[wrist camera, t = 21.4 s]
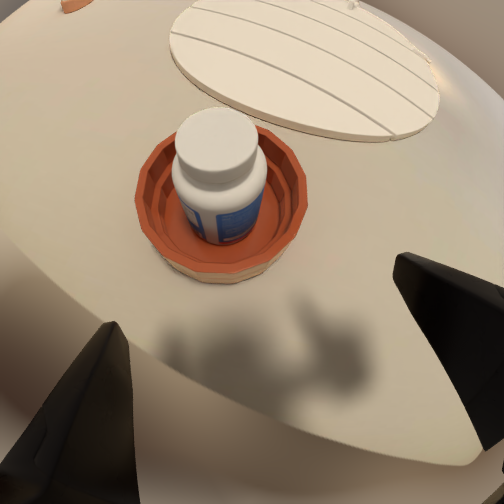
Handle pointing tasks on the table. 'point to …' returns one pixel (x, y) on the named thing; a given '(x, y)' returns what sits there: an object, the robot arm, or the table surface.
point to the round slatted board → (308, 66)
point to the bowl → (233, 255)
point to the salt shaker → (73, 5)
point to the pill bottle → (219, 174)
